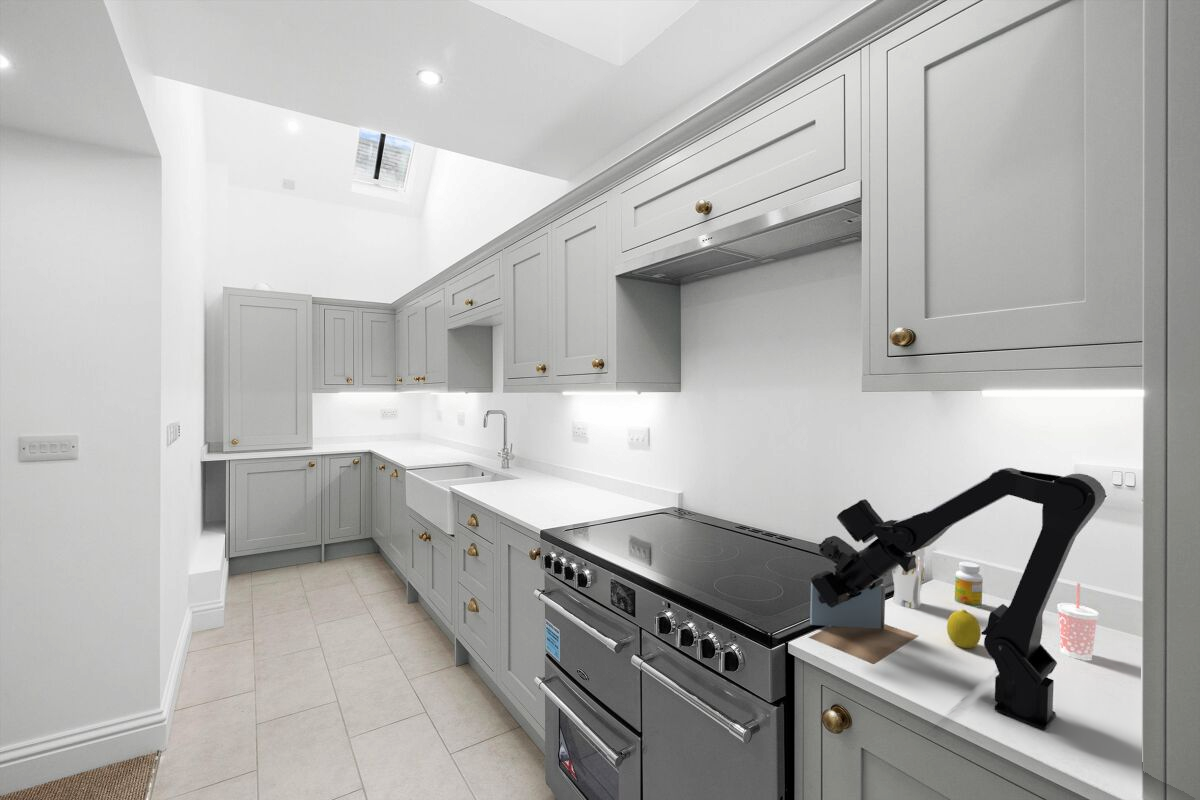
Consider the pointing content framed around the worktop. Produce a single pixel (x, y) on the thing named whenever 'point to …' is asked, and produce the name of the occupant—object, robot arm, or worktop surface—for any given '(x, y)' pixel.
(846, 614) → the door
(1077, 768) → the worktop surface
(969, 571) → the supplement bottle
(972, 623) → the lemon
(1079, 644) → the beverage cup
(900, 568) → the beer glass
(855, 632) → the brown flat rectangle
